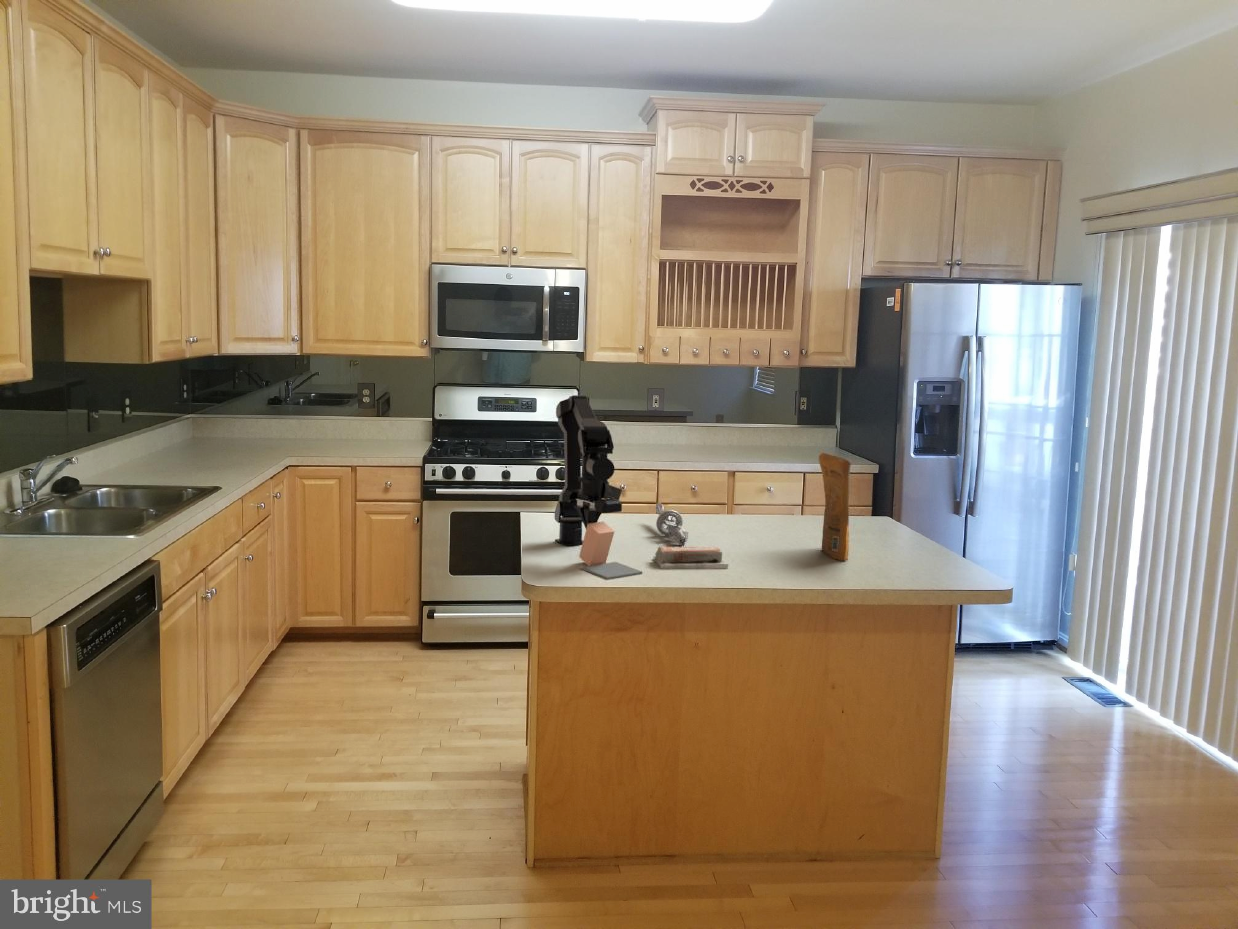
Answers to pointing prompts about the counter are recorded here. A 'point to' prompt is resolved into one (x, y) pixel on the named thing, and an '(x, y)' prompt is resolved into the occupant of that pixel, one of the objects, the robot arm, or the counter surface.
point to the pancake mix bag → (835, 506)
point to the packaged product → (689, 558)
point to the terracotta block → (596, 543)
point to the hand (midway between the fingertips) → (590, 533)
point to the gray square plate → (611, 570)
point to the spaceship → (671, 525)
